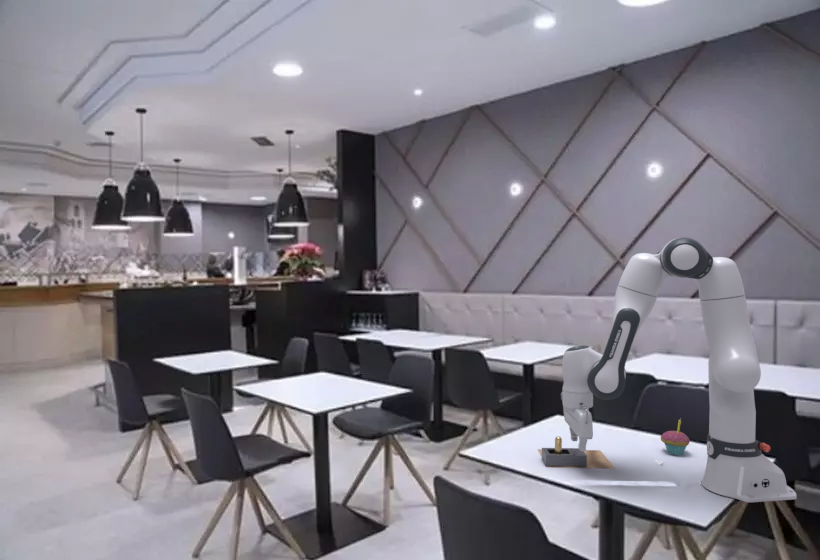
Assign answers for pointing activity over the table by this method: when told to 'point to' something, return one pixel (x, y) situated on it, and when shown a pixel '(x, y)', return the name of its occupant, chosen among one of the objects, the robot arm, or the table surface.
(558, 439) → the post
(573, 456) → the steel link
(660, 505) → the table surface
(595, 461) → the oak board
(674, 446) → the cupcake
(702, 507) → the table surface
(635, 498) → the table surface
